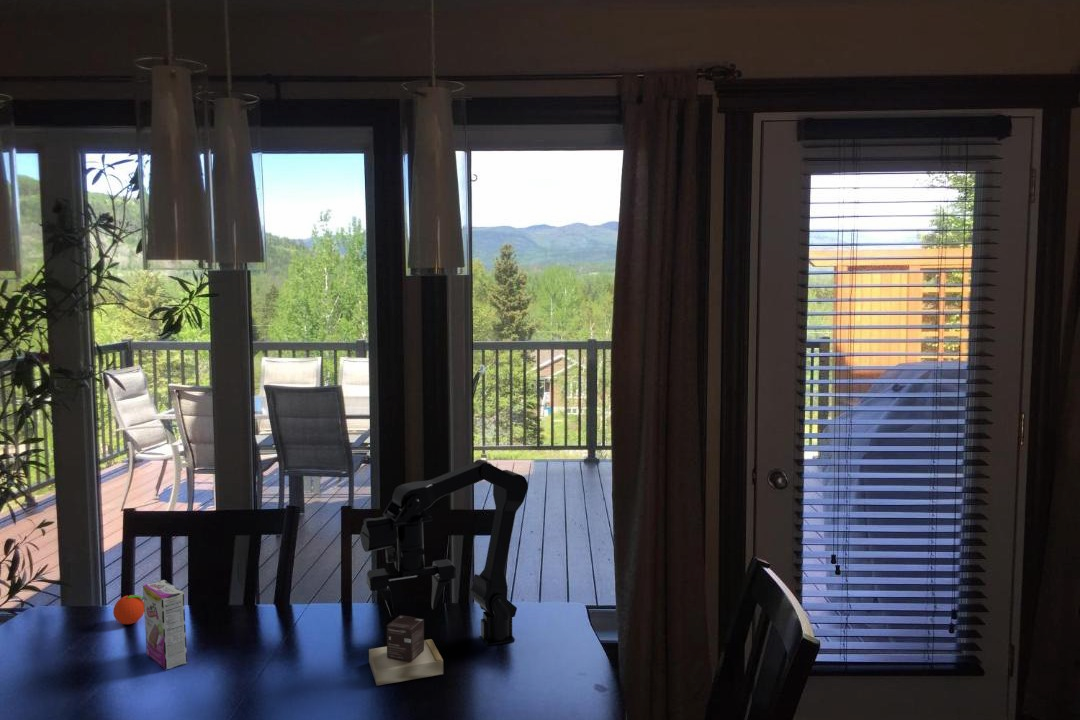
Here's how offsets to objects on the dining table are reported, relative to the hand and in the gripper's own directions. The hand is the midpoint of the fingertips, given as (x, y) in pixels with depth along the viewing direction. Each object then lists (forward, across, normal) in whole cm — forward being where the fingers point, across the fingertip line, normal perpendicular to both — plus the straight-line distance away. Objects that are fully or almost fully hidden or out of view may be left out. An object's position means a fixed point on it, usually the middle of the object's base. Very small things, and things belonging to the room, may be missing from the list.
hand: (412, 612), depth 171 cm
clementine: (+10, +61, -46) cm, 77 cm away
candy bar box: (+10, +51, -21) cm, 56 cm away
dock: (+11, +2, +3) cm, 12 cm away
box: (+8, +2, +3) cm, 9 cm away
